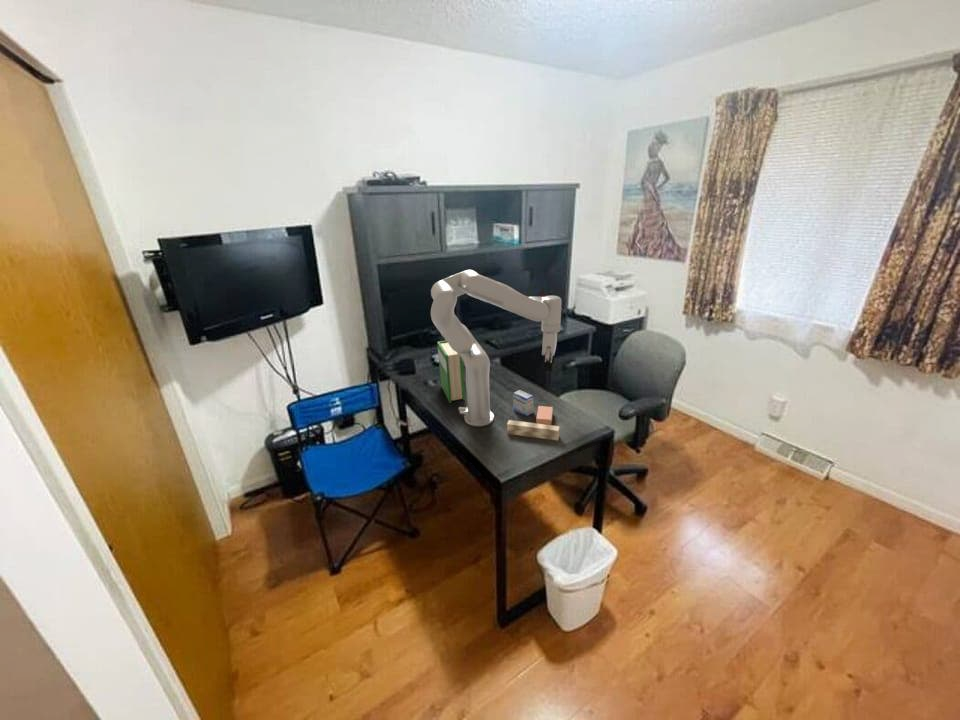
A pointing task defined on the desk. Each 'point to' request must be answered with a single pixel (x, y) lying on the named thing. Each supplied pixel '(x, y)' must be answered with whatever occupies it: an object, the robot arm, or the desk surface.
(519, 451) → the desk surface
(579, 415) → the desk surface
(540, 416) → the block
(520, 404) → the medicine box
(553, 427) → the board
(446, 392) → the hardback book
